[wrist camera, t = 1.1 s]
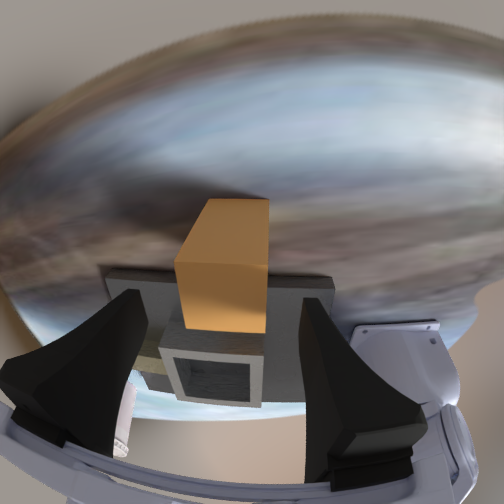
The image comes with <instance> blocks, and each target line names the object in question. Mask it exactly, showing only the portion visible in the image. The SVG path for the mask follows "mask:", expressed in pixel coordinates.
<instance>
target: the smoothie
mask: <svg viewBox="0 0 504 504" xmlns="http://www.w3.org/2000/svg"><path fill="white" fill-rule="evenodd" d="M136 394H137V389H136V387H135V386H134V385H133V384H132V383H130V382H128V381H127V383H126V385H125V389H124V393H123V396H122V400H121V404H120V409H119V414H118V419H117V425H116V431H115V439H114V450H113V455H115V456H119V457H125V456H127V452H128V451H129V449H128V447H127V442H128V436H129V429H130V425H131V419H132V414H133V409H134V404H135V399H136ZM92 469H93V468H92ZM94 470H95V469H94Z"/></svg>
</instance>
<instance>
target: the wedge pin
mask: <svg viewBox="0 0 504 504" xmlns="http://www.w3.org/2000/svg"><path fill="white" fill-rule="evenodd" d="M268 240H269V199H209V200H208V201H207V203H206V205H205V206H204V208H203V210H202V212H201V213H200V215H199V217H198V219H197V220H196V222H195V224H194V226H193V227H192V229H191V231H190V233H189V235H188V236H187V238H186V240H185V242H184V244H183V245H182V247H181V249H180V251H179V253H178V254H177V256H176V258H175V260H174V266H175V272H176V278H177V284H178V290H179V295H180V301H181V306H182V311H183V316H184V321H185V326H186V328H187V329H199V330H212V331H227V332H245V333H265V327H266V304H267V278H268Z"/></svg>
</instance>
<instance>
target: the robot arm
mask: <svg viewBox="0 0 504 504" xmlns="http://www.w3.org/2000/svg"><path fill="white" fill-rule="evenodd" d="M148 324H149V321H148V318H147V315H146V311H145V308H144V304H143V301H142V297H141V294H140V290H139V289H126V290H125V291H124V292H122V293H121V294H120V295H118V296H117V297H116V298H114V299H113V300H112V301H111V302H109V303H108V304H107V305H106V306H104V307H103V308H102V309H101V310H99V311H98V312H97V313H96V314H94V315H93V316H92V317H90V318H89V319H88V320H86V321H85V322H84V323H82V324H81V325H80V326H78V327H77V328H75V329H74V330H72V331H71V332H69V333H67V334H66V335H64V336H62V337H61V338H59V339H57V340H55V341H53V342H51V343H49V344H47V345H46V346H43V347H41V348H39V349H37V350H34V351H32V352H29V353H27V354H24V355H21V356H17V357H14V358H11V359H7V360H6V361H5V363H4V364H3V366H2V368H1V369H0V389H1V390H2V391H3V392H4V393H5V395H6V396H7V397H8V398H9V399H10V400H11V401H12V402H13V403H14V404H15V405H16V408H15V410H13V409H12V408H10V407H9V406H7V405H6V404H4V403H2V402H1V401H0V455H2V456H3V457H4V458H6V459H7V460H8V461H10V462H11V463H12V464H14V465H15V466H17V467H18V468H20V469H21V470H23V471H24V472H26V473H27V474H29V475H30V476H32V477H33V478H35V479H37V480H38V481H40V482H42V483H43V484H45V485H47V486H48V487H50V488H52V489H54V490H56V491H57V492H59V493H61V494H63V495H65V496H67V497H68V498H67V502H66V504H202V503H197V502H191V501H187V500H182V499H177V498H173V497H168V496H164V495H160V494H156V493H152V492H148V491H144V490H141V489H137V488H134V487H130V486H127V485H123V484H120V483H117V482H116V481H114V480H112V479H111V478H110V477H109V476H108V475H105V474H103V473H106V474H109V475H112V476H115V477H118V478H121V479H124V480H127V481H130V482H134V483H137V484H141V485H144V486H148V487H152V488H156V489H160V490H165V491H169V492H174V493H179V494H184V495H190V496H196V497H203V498H210V499H218V500H228V501H240V502H260V503H252V504H461V503H462V502H463V500H464V499H465V498H466V497H467V495H468V494H469V493H470V491H471V490H472V489H473V487H474V486H475V484H476V481H477V476H478V463H477V460H476V457H475V450H474V445H473V441H472V438H471V435H470V432H469V429H468V427H467V424H466V422H465V419H464V417H463V415H462V414H461V412H460V410H459V408H458V407H457V406H456V404H457V402H458V399H459V395H460V380H459V375H458V372H457V369H456V367H455V366H454V363H453V361H452V359H451V357H450V355H449V353H448V351H447V349H446V347H445V345H444V343H443V341H442V339H441V337H440V335H439V333H438V329H439V327H440V323H439V322H438V321H431V322H418V323H404V324H386V325H362V326H357V327H356V328H355V329H354V331H353V335H352V338H351V341H350V344H348V342H347V341H346V340H345V338H344V337H343V336H342V334H341V333H340V332H339V330H338V329H337V327H336V326H335V324H334V323H333V321H332V320H331V318H330V317H329V315H328V314H327V312H326V310H325V309H324V307H323V305H322V303H321V301H320V300H319V299H318V298H309V297H303V303H302V310H301V317H300V323H299V330H298V341H299V356H300V363H301V370H302V377H303V384H304V391H305V400H306V464H305V481H304V484H246V483H233V482H222V481H213V480H206V479H199V478H192V477H186V476H180V475H175V474H170V473H165V472H161V471H156V470H152V469H148V468H144V467H140V466H136V465H133V464H129V463H126V462H123V461H119V460H116V459H113V450H114V439H115V431H116V425H117V419H118V414H119V409H120V404H121V400H122V396H123V393H124V389H125V385H126V383H127V380H128V377H129V375H130V372H131V370H132V368H133V365H134V363H135V361H136V358H137V356H138V354H139V351H140V349H141V347H142V344H143V342H144V339H145V335H146V332H147V328H148ZM364 330H365V331H364ZM92 468H93V469H92ZM94 469H95V470H94ZM97 470H98V471H97ZM99 471H101V472H103V473H101V472H99Z"/></svg>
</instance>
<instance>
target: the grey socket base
mask: <svg viewBox="0 0 504 504" xmlns="http://www.w3.org/2000/svg"><path fill="white" fill-rule="evenodd" d="M105 281H106V284H107V287H108V290H109V293H110V296H111V299H112V300H113V299H114V298H116V297H117V296H118V295H120V294H121V293H122V292H124V291H125V290H126V289H139V290H140V294H141V297H142V301H143V304H144V308H145V311H146V315H147V318H148V321H149V324H148V328H147V332H146V335H145V339H144V342H143V344H142V347H141V349H140V351H139V354H138V356H137V358H136V361H135V363H134V365H133V368H132V369H134V370H139V371H141V373H142V376H143V378H144V380H145V382H146V384H147V386H148V388H149V390H154V391H160V392H166V393H173V394H175V395H176V398H177V400H181V401H188V402H196V403H204V404H214V405H224V406H237V407H255V408H261V402H306V400H305V391H304V384H303V377H302V370H301V363H300V356H299V341H298V330H299V323H300V317H301V310H302V303H303V297H309V298H318V299H319V300H320V301H321V303H322V305H323V307H324V309H325V310H326V312H327V314H328V315H329V316H330V311H331V307H332V302H333V297H334V293H335V286H334V283H333V279H332V277H298V276H268V278H267V304H266V327H265V333H245V332H227V331H212V330H199V329H187V328H186V326H185V321H184V316H183V311H182V306H181V301H180V295H179V290H178V284H177V278H176V272H167V271H149V270H132V269H115V268H112V270H111V271H110V272H109V273H108V275H107V276H106V277H105Z"/></svg>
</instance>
